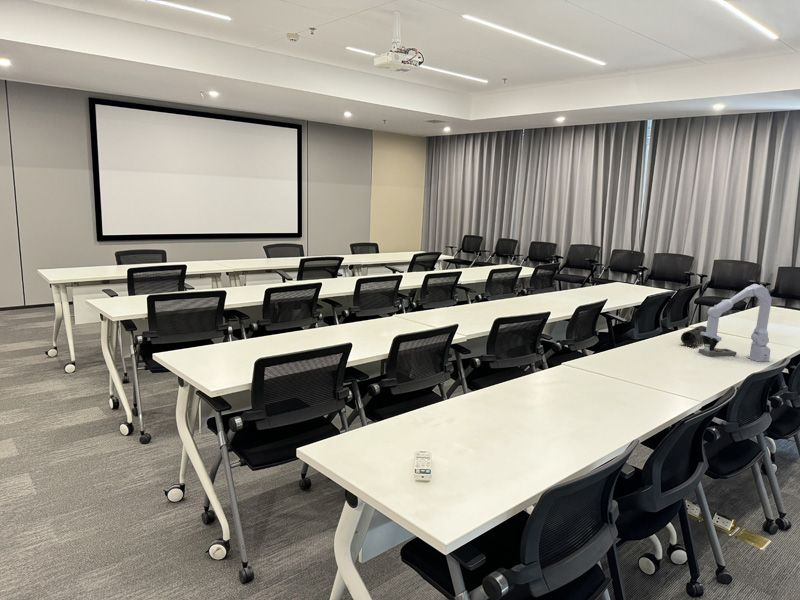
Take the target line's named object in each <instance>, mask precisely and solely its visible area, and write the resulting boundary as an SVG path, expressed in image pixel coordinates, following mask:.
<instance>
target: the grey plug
mask: <svg viewBox="0 0 800 600" xmlns="http://www.w3.org/2000/svg"><path fill="white" fill-rule="evenodd" d="M703 346H704V347H703V349H704V350H705V351H707V352H714V351H710V344H705V345H704V344H703Z"/></svg>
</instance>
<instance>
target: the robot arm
mask: <svg viewBox="0 0 800 600" xmlns="http://www.w3.org/2000/svg"><path fill="white" fill-rule="evenodd" d="M747 297H752V298H753V297H756V298H757V299H758V300H759V307H758V314H757V320H756V326H755V328H754V330H753V332H752V333H751V336H750V338H751V340H752V342H751V344H750V352H749V356H745V358H747V359H749V358H750V360H753V361H755V362H759V363H760V362H761V363H763V362H766V363H767V362H769V363H770V356H771V348H770V347H768V343H769V341H770V340H769V332H768V324H769V319H770V312H771V307H772V306H771V305H772V300H773V299H772V297H771V295H770V292H769V289H767V288H766V287H765V286H763V285H759V284H757V283H753V284H751V285H749V286H747V287H745V288H744V289H743V290H741V291H739V292H738V293H736V295H734V296H732V297H731V298H729V299H728V298H727V299H722V300H721V302H719V303H718V304H714V306H711V307H709V308H708V310H707V313H706V314H707V316H708V317H707V323H706V327H707V328H706V332H701V335H704V337H702V339H703V341H702V342H703V346H704V345H705V344H710V351H714V348H716V346H717V345H718V343H719V342H721V341H722V338H723V337H722V336H719V335H718V328H719V321H720V320H719V319H720V317H721V316H722V314H725V313H726V312H727V311H729V310H730V309H732V308H733V307H734V304H736V303H737V302H740V301H741V300H743V299H745V298H747Z"/></svg>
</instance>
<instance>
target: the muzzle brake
mask: <svg viewBox="0 0 800 600" xmlns="http://www.w3.org/2000/svg"><path fill="white" fill-rule="evenodd" d="M706 328H707V326H705V325H698V326H695V328H692V329H689V330H687V331H685V332H683V333H682V334H681V336H680V340H681V342H682V343H683V345H685V346H686V347H688V348H689V347H691V346H693V345H696V344H697V343H699V344H700V342H703V339H702V337H704V335H701V332H706Z"/></svg>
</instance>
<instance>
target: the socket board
mask: <svg viewBox="0 0 800 600" xmlns="http://www.w3.org/2000/svg"><path fill="white" fill-rule="evenodd" d="M697 352H698V354H700V353H701V355H704V356H707V357H736V356H737V353H738V351H734V350H733V349H729V348H716V347H715V348H714V352H707V351H705V350H704V348H698V351H697ZM735 355H736V356H735Z"/></svg>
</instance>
